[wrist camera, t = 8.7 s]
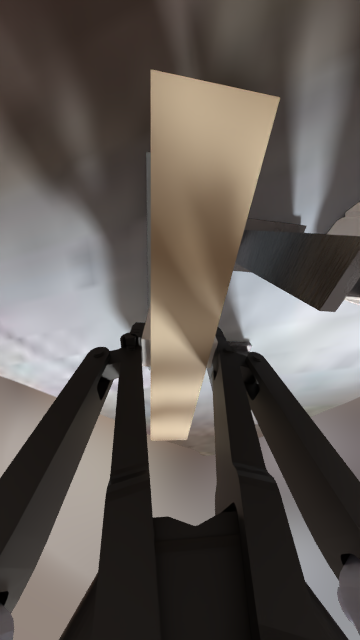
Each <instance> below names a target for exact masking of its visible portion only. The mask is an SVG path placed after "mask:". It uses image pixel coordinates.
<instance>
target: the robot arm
mask: <svg viewBox="0 0 360 640" xmlns="http://www.w3.org/2000/svg"><path fill="white" fill-rule="evenodd" d="M120 341H121V348H120V349H117V350H113V351H109V349H107V348H106V347H97V348H94V349H93V350H91V351H90V352H89V353H88V354H87V356H86V357H85V358H84V360H83V361H82V363H81V364H80V366H79V367H78V368H77V370H76V371H75V373H74V374H73V376H72V377H71V378H70V380H69V381H68V383H67V384H66V385H65V387H64V388H63V390H62V391H61V393H60V394H59V395H58V397H57V398H56V400H55V401H54V403H53V404H52V405H51V407H50V408H49V410H48V411H47V413H46V414H45V415H44V417H43V418H42V420H41V421H40V423H39V424H38V426H37V427H36V428H35V430H34V431H33V433H32V434H31V435H30V437H29V438H28V440H27V441H26V442H25V444H24V445H23V447H22V448H21V450H20V451H19V452H18V454H17V455H16V457H15V458H14V460H13V461H12V462H11V464H10V465H9V467H8V468H7V470H6V471H5V472H4V474H3V475H2V477H1V478H0V640H13V633H14V623H13V618H12V616H11V612H12V611H13V609H14V607H15V606H16V604H17V602H18V600H19V598H20V596H21V594H22V592H23V590H24V589H25V587H26V585H27V583H28V581H29V579H30V577H31V575H32V573H33V571H34V569H35V567H36V565H37V562H38V560H39V558H40V556H41V553H42V551H43V549H44V547H45V544H46V542H47V540H48V537H49V535H50V533H51V530H52V528H53V525H54V523H55V520H56V518H57V516H58V513H59V511H60V508H61V506H62V504H63V501H64V499H65V496H66V494H67V491H68V489H69V487H70V484H71V482H72V479H73V477H74V475H75V472H76V470H77V467H78V465H79V462H80V460H81V458H82V455H83V453H84V450H85V448H86V445H87V443H88V441H89V438H90V436H91V433H92V431H93V428H94V426H95V424H96V421H97V419H98V416H99V414H100V412H101V409H102V407H103V404H104V402H105V399H106V397H107V395H108V392H109V390H110V387H111V385H112V383H113V380H114V379H116V378H119V382H118V393H117V405H116V417H115V428H114V440H113V452H112V464H111V474H110V481H109V483H108V487H107V492H106V499H105V508H104V518H103V529H102V539H101V550H100V561H99V570H98V573H97V575H96V577H95V578H94V580H93V582H92V583H91V585H90V587H89V589H88V590H87V592H86V594H85V596H84V597H83V599H82V601H81V603H80V604H79V606H78V608H77V609H76V611H75V613H74V615H73V616H72V618H71V620H70V622H69V623H68V625H67V627H66V629H65V630H64V632H63V634H62V635H61V637H60V639H59V640H348V638H347V637H346V635H345V634H344V633H343V631H342V630H341V629H340V627H339V626H338V625H337V623H336V622H335V621H334V619H333V618H332V617H331V615H330V614H329V613H328V611H327V610H326V609H325V607H324V606H323V605H322V603H321V602H320V601H319V599H318V598H317V597H316V595H315V594H314V593H313V591H312V590H311V589H310V587H309V586H308V585H307V583H306V582H305V580H304V576H303V572H302V569H301V565H300V562H299V558H298V555H297V551H296V548H295V544H294V541H293V537H292V534H291V530H290V527H289V523H288V519H287V516H286V513H285V509H284V505H283V502H282V498H281V495H280V492H279V489H278V486H277V483H276V481H275V480H274V478H273V477H272V476H271V475H270V474H269V473H268V472H267V470H266V467H265V463H264V459H263V456H262V451H261V447H260V443H259V439H258V436H257V432H256V428H255V424H254V420H253V416H252V412H253V414H254V416H255V418H256V420H257V423H258V425H259V427H260V429H261V431H262V433H263V435H264V437H265V439H266V441H267V443H268V445H269V448H270V450H271V452H272V454H273V456H274V458H275V460H276V462H277V464H278V466H279V468H280V471H281V473H282V475H283V477H284V479H285V481H286V483H287V485H288V487H289V489H290V491H291V493H292V496H293V498H294V500H295V502H296V504H297V506H298V508H299V510H300V512H301V514H302V516H303V518H304V521H305V523H306V525H307V527H308V528H309V530H310V532H311V534H312V536H313V538H314V540H315V542H316V544H317V545H318V547H319V549H320V551H321V552H322V554H323V556H324V558H325V559H326V561H327V563H328V564H329V566H330V568H331V569H332V571H333V572H334V574H335V575H336V577H337V578H338V580H339V586H340V587H338V592H337V595H338V600H339V603H340V605H341V607H342V610H343V612H344V613H345V615H346V617H347V618H348V620H349V621H350V622H351V623H352V624H353V625H354V626H356V629H357V631H358V633H359V635H360V482H359V480H358V479H357V478H356V476H355V475H354V474H353V472H352V471H351V470H350V468H349V467H348V466H347V465H346V463H345V462H344V461H343V459H342V458H341V457H340V456H339V454H338V453H337V452H336V450H335V449H334V448H333V446H332V445H331V444H330V442H329V441H328V440H327V439H326V437H325V436H324V435H323V433H322V432H321V431H320V429H319V428H318V427H317V426H316V424H315V423H314V422H313V420H312V419H311V418H310V416H309V415H308V414H307V412H306V411H305V410H304V409H303V407H302V406H301V405H300V403H299V402H298V401H297V399H296V398H295V397H294V396H293V394H292V393H291V392H290V390H289V389H288V388H287V386H286V385H285V384H284V383H283V381H282V380H281V379H280V377H279V376H278V375H277V373H276V372H275V371H274V370H273V368H272V367H271V366H270V364H269V363H268V362H267V360H266V359H265V358H264V357H263V356H262V355H260V354H259V353H256V352H249V353H248V354H247V356H246V355H242V354H239V353H237V352H236V350H235V349H234V348H233V347H231V346H229V345H228V343H227V341H226V339H225V337H224V335H223V333H222V331H221V329H220V328H219V327H217V331H216V334H215V338H214V342H213V345H212V349H211V353H210V356H209V360H208V364H207V367H206V368H211V365H213V370H212V373H211V377H210V379H212V383H213V406H214V429H215V452H216V474H217V486H216V493H215V516H214V517H212V518H210V519H209V520H207V521H205V522H203V523H202V524H200V525H198V526H193V525H190V524H187V523H184V522H181V521H179V520H176V519H173V518H171V517H156V518H153V517H152V503H151V489H150V475H149V463H148V448H147V434H146V419H145V404H144V389H143V375H142V366H149V367H151V303H150V307H149V311H148V315H147V319H146V323H137V322H136V323H135V324H134V325H133V326H132V329H131V331H130V333H126V334H124V335H123V336H121V338H120ZM251 410H252V412H251Z"/></svg>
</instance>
